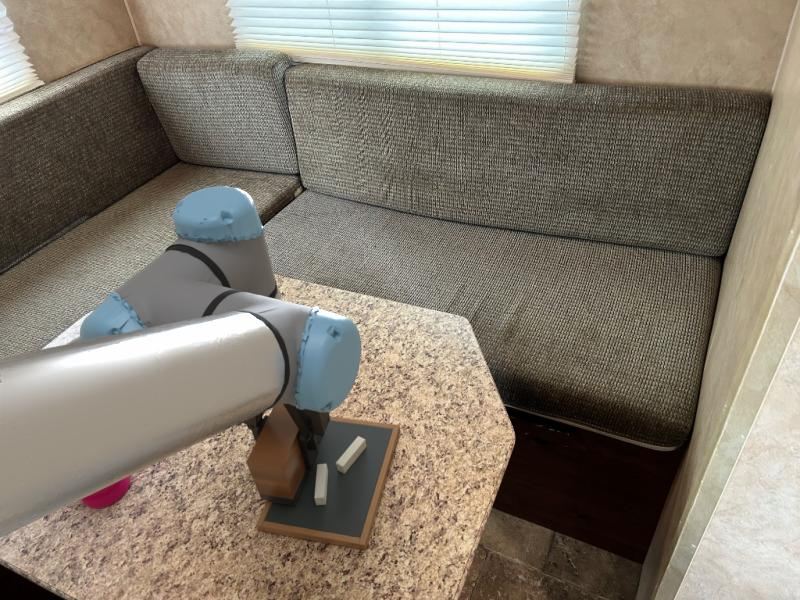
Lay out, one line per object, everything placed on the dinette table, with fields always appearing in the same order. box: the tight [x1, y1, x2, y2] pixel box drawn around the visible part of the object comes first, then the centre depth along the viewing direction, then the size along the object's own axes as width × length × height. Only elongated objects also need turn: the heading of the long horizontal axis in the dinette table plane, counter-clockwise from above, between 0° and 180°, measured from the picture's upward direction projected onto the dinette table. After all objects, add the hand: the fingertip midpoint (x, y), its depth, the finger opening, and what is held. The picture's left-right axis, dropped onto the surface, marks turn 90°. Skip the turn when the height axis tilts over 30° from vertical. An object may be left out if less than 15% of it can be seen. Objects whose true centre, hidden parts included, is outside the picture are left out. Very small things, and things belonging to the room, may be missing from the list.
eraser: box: [245, 404, 323, 506], centre depth 78 cm, size 12×5×8 cm, turn 167°
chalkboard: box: [255, 415, 401, 551], centre depth 80 cm, size 18×14×1 cm
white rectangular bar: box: [314, 464, 328, 505], centre depth 77 cm, size 5×1×2 cm, turn 2°
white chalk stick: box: [336, 436, 366, 474], centre depth 80 cm, size 5×1×2 cm, turn 147°
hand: (293, 458), depth 79 cm, fingers closed on eraser, 5 cm apart
